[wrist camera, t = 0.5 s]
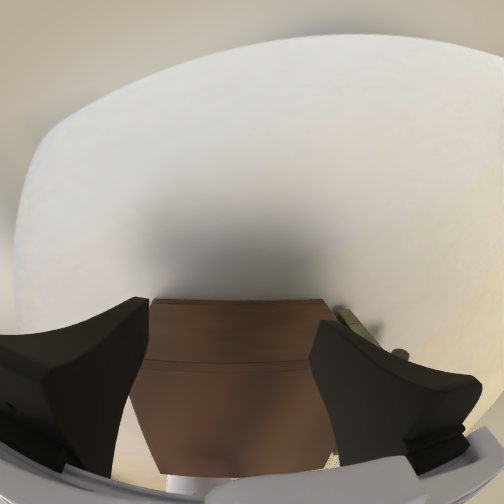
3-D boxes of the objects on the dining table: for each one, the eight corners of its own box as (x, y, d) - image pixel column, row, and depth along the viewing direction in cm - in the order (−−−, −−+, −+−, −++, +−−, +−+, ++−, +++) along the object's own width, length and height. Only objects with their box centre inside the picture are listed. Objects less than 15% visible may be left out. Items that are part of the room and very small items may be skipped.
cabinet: (322, 298, 22) (367, 361, 14) (302, 404, 25) (323, 468, 17) (153, 298, 21) (119, 365, 12) (171, 406, 24) (160, 473, 16)
